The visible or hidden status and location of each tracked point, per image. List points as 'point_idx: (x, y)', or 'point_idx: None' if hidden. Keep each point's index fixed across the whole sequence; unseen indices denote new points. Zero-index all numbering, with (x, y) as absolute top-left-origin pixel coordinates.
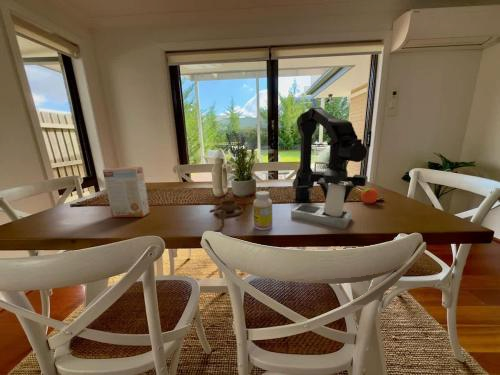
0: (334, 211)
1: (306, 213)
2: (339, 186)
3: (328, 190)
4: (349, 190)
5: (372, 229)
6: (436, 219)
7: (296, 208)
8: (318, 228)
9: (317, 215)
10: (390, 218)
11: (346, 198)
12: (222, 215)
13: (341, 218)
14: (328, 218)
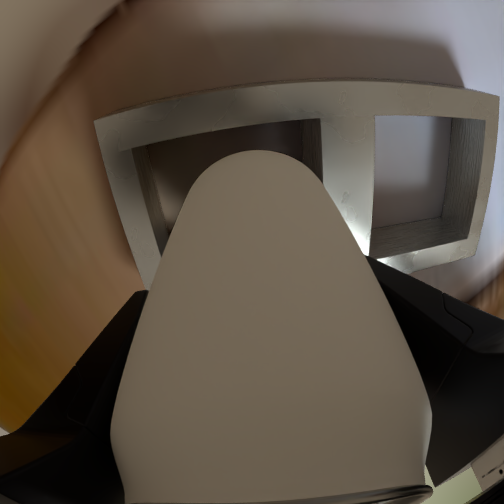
0: (217, 173)
1: (419, 85)
2: (187, 484)
3: (401, 333)
4: (36, 426)
5: (18, 224)
6: (6, 409)
7: (487, 150)
8: (266, 4)
9: (338, 83)
10: (60, 375)
11: (108, 328)
12: None
13: (140, 145)
14: (237, 89)
